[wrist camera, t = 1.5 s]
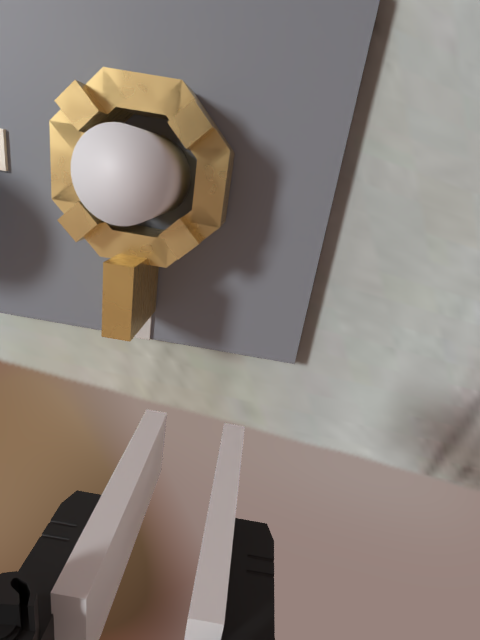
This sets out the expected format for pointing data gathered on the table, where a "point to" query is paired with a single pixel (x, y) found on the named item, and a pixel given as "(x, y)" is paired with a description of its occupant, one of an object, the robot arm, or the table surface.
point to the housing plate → (254, 111)
